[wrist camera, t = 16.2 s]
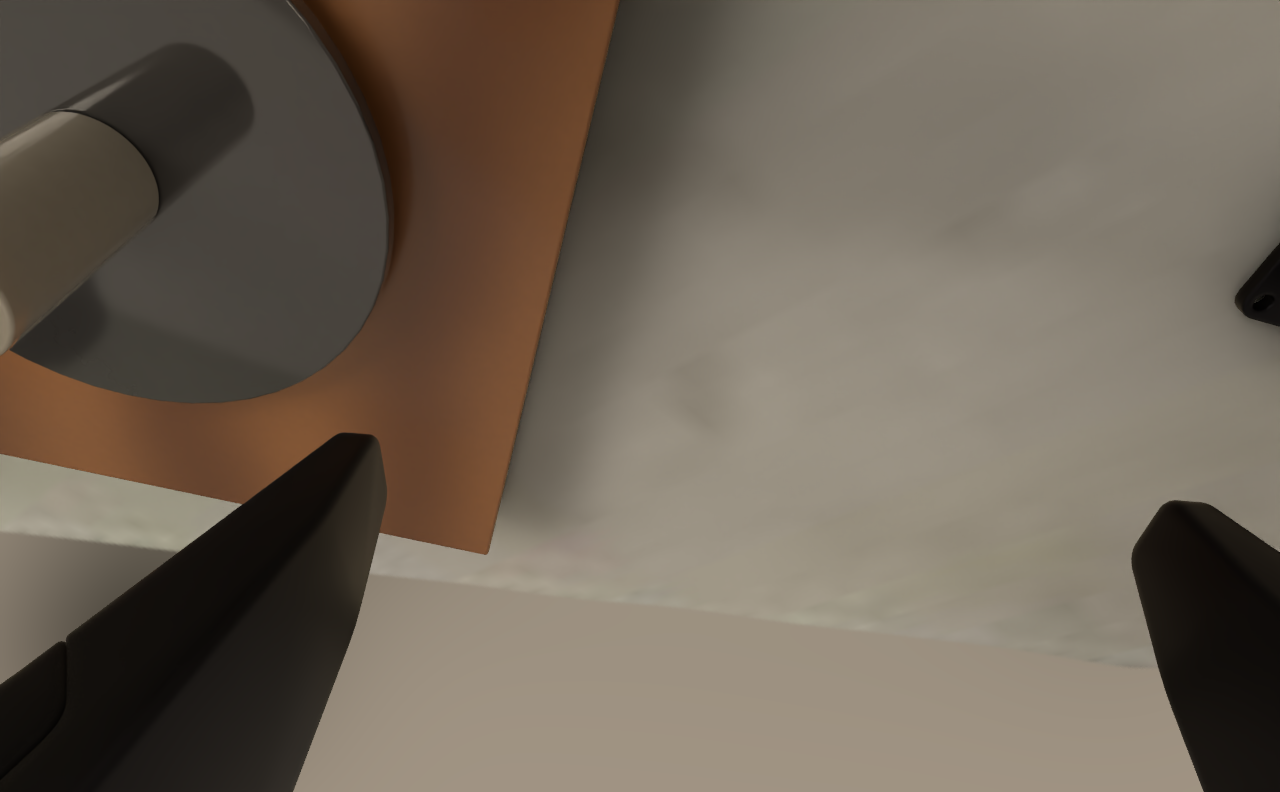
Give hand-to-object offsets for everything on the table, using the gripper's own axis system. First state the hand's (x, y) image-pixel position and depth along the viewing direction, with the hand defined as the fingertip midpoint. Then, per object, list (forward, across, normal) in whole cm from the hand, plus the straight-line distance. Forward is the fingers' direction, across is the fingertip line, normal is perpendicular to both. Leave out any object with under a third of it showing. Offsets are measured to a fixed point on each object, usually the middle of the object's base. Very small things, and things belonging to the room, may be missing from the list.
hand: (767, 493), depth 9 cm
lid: (+10, +14, +1) cm, 17 cm away
